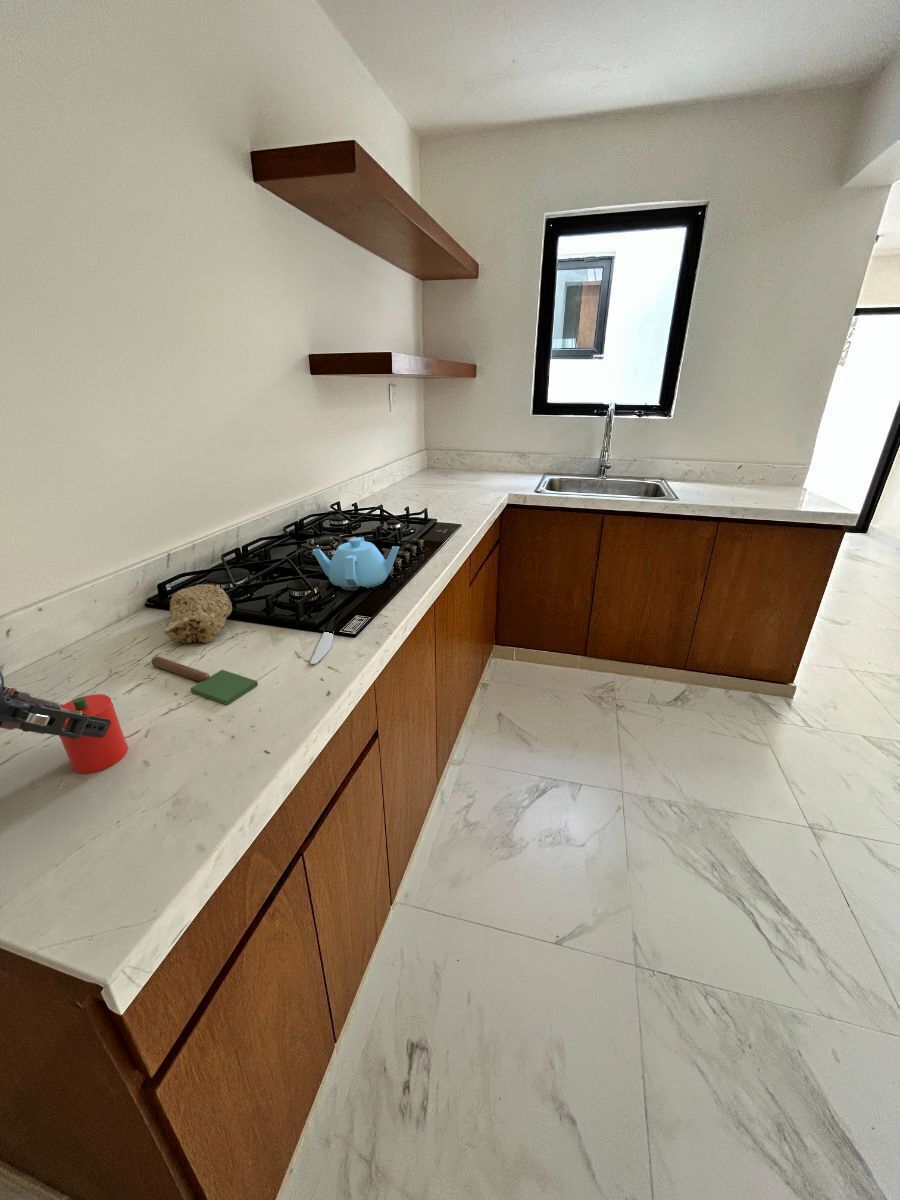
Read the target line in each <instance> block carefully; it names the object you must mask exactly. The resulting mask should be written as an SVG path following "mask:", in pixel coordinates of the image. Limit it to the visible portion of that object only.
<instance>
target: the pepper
mask: <svg viewBox="0 0 900 1200" xmlns="http://www.w3.org/2000/svg"><path fill="white" fill-rule="evenodd" d="M62 708H63V709H67V710H71V711H75V712H77V711H80V712H82V713H84V714H87V715H91V716H96V717H101V718H106V719H109V720H110V721H111V724H110V726H109V728H108V731H107V733H106V735H105V736H104V737H102V738H97V737H91V736H84V735H81V736H80V738H79V739H78V738H75V739H72V738H70V737H65V736H59V738H60V741H61V743H62V746H63V748H64V751H65V753H66V756H67V758H68V761H69V763H70V765H71V768H72V770H73V771H74V772H76V773H77V774H78V773H79V774H85V775H86V774H94V773H98V772H101V771H103V770H107V769H108V768H110V767H112V766H114V765H116V764H117V763H118V762H120V761H121V760H122V759H123V758H124V757H125V756H126V755H127V753H128V749H129V747H128V744H127V741H126V737H125V736H124V731H123V729H122V727H121V724H120V720H119V718H118V715H117V712H116V710H115V707H114V704H113V701H112V698H111V697H110V696H109V695H107V694H100V693H98V694H97V693H96V694H94V693H93V694H87V695H83V696H80V697H77V698H74V699H72V700H70V701H67V702H65V703H64V704H63V705H62ZM68 720H69V718H68V719H67V720H66V721H65V723H64V725H63V727H62V728H65V726H66V724H67V722H68Z"/></svg>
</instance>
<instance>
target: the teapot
mask: <svg viewBox="0 0 900 1200" xmlns="http://www.w3.org/2000/svg"><path fill="white" fill-rule="evenodd" d="M399 549H400V546H395V545H393V546H392V547H391V550H390V552H389V553H388V556H387V558H386V559H385V557H384V556H383V554H382V553H381V552H380V550H379V549H378V548H377V546H376V545H375V544H374V543H372V542H369V541H365V537H364V536H359V537H351V538H349V539H348V542H345V543H342V544H340V545H339V546H338V547H337V548H336V549H335V552H334V553H333V555H332V557H331V559H329V558H328V556H327V555H326V554H325V553H324V552H323V551H322V550H321V548H314V549H312V554H313V555H314V556H315V558H316V560H317V562H318V564H319V566H320V568H321V569H322V571H323V573H324V574H325V576H326V577H328V580H329V582H330V583H331V585H333V586H334V585H335V586H340V587H353V586H362V587H366V588H369V587H375V586H378V585H380V584H382V585H383V584H384V582H385V581H386V580H387V579H388V577H389V575H390V573H391V571H392V568H393V565H394V563H395V560H396V557H397V555H398V552H399ZM335 586H334V587H335ZM380 586H381V585H380Z"/></svg>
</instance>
